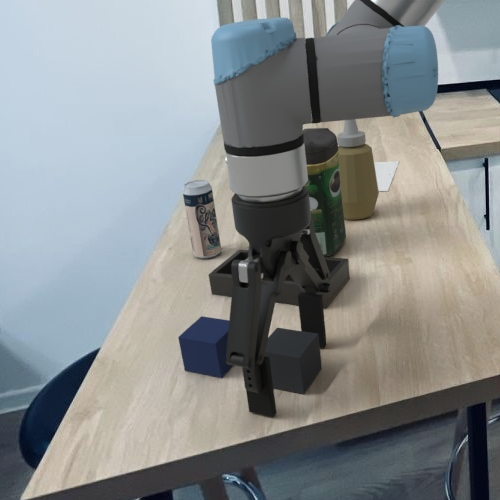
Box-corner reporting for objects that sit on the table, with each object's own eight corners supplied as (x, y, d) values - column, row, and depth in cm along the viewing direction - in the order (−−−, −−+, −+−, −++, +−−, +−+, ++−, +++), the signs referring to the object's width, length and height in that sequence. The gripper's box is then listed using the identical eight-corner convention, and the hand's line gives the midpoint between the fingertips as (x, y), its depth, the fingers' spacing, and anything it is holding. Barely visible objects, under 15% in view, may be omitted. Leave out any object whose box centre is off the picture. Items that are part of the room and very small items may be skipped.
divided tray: (242, 267, 100) (239, 249, 99) (350, 278, 92) (348, 258, 91) (211, 294, 93) (208, 274, 92) (325, 309, 85) (323, 287, 84)
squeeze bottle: (342, 206, 120) (334, 107, 113) (385, 207, 116) (380, 106, 110) (327, 222, 114) (317, 118, 107) (372, 224, 110) (366, 117, 103)
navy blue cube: (243, 355, 77) (237, 321, 75) (221, 378, 73) (215, 343, 71) (207, 348, 79) (201, 315, 78) (184, 370, 75) (177, 336, 74)
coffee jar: (305, 235, 109) (294, 124, 102) (351, 237, 106) (343, 123, 99) (283, 258, 101) (270, 140, 94) (333, 262, 98) (322, 139, 91)
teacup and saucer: (359, 168, 141) (358, 149, 139) (353, 179, 134) (352, 160, 132) (319, 169, 143) (318, 151, 142) (311, 180, 137) (309, 161, 135)
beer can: (212, 261, 104) (200, 189, 99) (187, 258, 106) (175, 188, 102) (227, 249, 108) (217, 179, 103) (203, 247, 110) (192, 178, 105)
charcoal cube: (322, 368, 72) (318, 333, 70) (303, 394, 68) (299, 357, 67) (281, 361, 75) (277, 327, 73) (261, 386, 71) (256, 350, 69)
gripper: (288, 153, 75) (304, 317, 83) (163, 234, 55) (201, 439, 63) (350, 154, 71) (361, 325, 79) (241, 241, 52) (271, 457, 60)
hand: (290, 376), depth 71 cm, fingers open, 13 cm apart
